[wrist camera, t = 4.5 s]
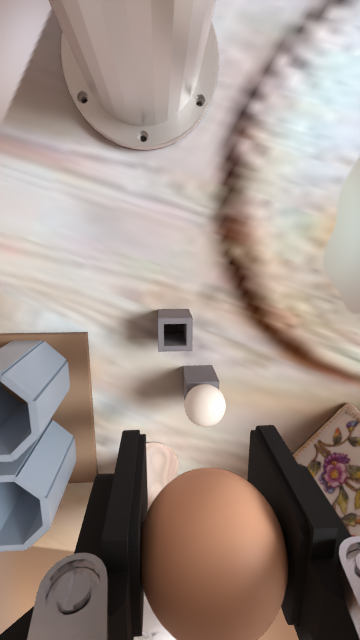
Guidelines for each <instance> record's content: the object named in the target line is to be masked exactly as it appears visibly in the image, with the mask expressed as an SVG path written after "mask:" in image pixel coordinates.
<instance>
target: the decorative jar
mask: <svg viewBox="0 0 360 640" xmlns="http://www.w3.org/2000/svg"><path fill="white" fill-rule="evenodd" d="M293 457H294V458H295V460H296V461H297V463H298V465H304V466H306V467H307V469H308V470H309V471H310V473H311V474H312V476H313V477H314V479H315V480H316V482H317V484H318V485H319V487H320V488H321V490H322V491H323V493H324V494H325V496H326V497H327V499H328V500H329V502H330V503H331V505H332V506H333V508H334V509H335V511H336V513H337V514H338V516H339V517H340V519H341V520H342V522H343V523H344V525H345V526H346V528H347V529H348V531H349V532H350V534H351V535H352V537H357V536H360V411H359V410H358V409H357V408H356V407H354V406H353V405H352V404H350V403H347V404H345V405H344V406H343V407H342V408H340V409H339V410H338V411H337V412H336V414H335V415H334V416H332V417H331V418H330V419H329V420H328V421H327V422H326V423H325V424H324V425H323V426H322V427H321V428H320V429H319V430H318V431H317V432H316V433H315V434H314V435H313V436H312V437H311V438H310V439H308V440H307V441H306V442H305V443H304V444H303V445H302V446H301V447H300V448H299V449H298V450H297V451H296V452H295V453H294V454H293Z"/></svg>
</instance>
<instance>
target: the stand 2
mask: <svg viewBox="0 0 360 640" xmlns="http://www.w3.org/2000/svg"><path fill="white" fill-rule="evenodd" d="M201 384H208V385H212V386H214V387H216V388H217V389H218V390H219V380H218V378H217V375H216V373H215V371H214V369H213V366H212V365H209V366H183V394H184V400H185V398H186V396H187V394H188V392H189V391H190V390H191V389H192V387H195V386H198V385H201Z"/></svg>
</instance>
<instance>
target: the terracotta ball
mask: <svg viewBox="0 0 360 640" xmlns="http://www.w3.org/2000/svg"><path fill="white" fill-rule="evenodd" d="M287 579H288V555H287V547H286V542H285V538H284V535H283V531H282V528H281V526H280V523H279V521H278V519H277V517H276V515H275V513H274V511H273V509H272V507H271V506H270V504H269V503H268V501H267V500H266V499H265V497H264V496H263V495H262V494H261V493H260V492H259V491H258V490H257V489H256V488H255V487H254V486H253V485H252V484H251V483H249V482H248V481H247V480H245V479H244V478H242V477H240V476H239V475H237V474H234V473H232V472H229V471H226V470H222V469H217V468H200V469H195V470H191V471H188V472H186V473H183V474H181V475H179V476H178V477H176V478H174V479H173V480H172V481H171V482H169V483H168V484H167V485H166V486H165V487H164V488H163V489H162V490H161V491H160V492H159V494H158V495H157V496H156V498H155V499H154V500H153V502H152V504H151V506H150V507H149V510H148V512H147V514H146V516H145V519H144V522H143V526H142V538H141V582H142V586H143V589H144V593H145V596H146V598H147V600H148V603H149V605H150V607H151V609H152V611H153V613H154V614H155V616H156V617H157V619H158V620H159V622H160V623H161V625H162V626H163V627H164V628H165V629H166V630H167V631H168V632H169V633H170V634H171V635H172V636H173V637H174V638H175V639H177V640H258V639H259V638H260V637H261V636H262V635H263V634H264V633H265V632H266V631H267V630H268V628H269V627H270V626H271V624H272V623H273V621H274V620H275V618H276V616H277V614H278V612H279V610H280V607H281V605H282V602H283V599H284V595H285V591H286V586H287Z"/></svg>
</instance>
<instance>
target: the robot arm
mask: <svg viewBox="0 0 360 640" xmlns="http://www.w3.org/2000/svg"><path fill="white" fill-rule="evenodd" d="M49 2H50V4H51V7H52V9H53V11H54V13H55V15H56V18H57V20H58V22H59V24H60V26H61V29H62V36H61V63H62V69H63V75H64V78H65V81H66V84H67V87H68V90H69V93H70V95H71V97H72V99H73V101H74V102H75V104H76V106H77V108H78V109H79V111H80V112H81V114H82V115H83V117H84V118H85V119H86V120H87V121H88V123H89V124H90V125H91V126H92V127H93V128H94V129H95V130H96V131H97V132H99V133H100V134H101V135H103V136H104V137H105V138H107V139H108V140H110V141H112V142H114V143H116V144H118V145H121V146H124V147H128V148H131V149H140V150H151V149H158V148H163V147H165V146H168V145H171V144H174V143H175V142H177V141H179V140H180V139H182V138H183V137H185V136H186V135H187V134H188V133H190V132H191V131H192V130H193V129H194V128H195V127H196V126H197V124H198V123H199V122H200V120H201V119H202V118H203V116H204V115H205V113H206V111H207V109H208V107H209V105H210V103H211V100H212V97H213V94H214V91H215V89H216V84H217V78H218V73H219V49H218V42H217V36H216V33H215V30H214V26H213V23H212V16H213V12H214V7H215V3H216V0H49ZM84 99H86V100H88V101H87V102H86V103H84V104H83V103H82V102H83V100H84ZM198 102H200V103H201V104H202V106H201V107H200V106H197V105H196V103H198ZM142 137H145V138H146V141H145V142H142V141H141V138H142ZM248 482H249V483H251V484H252V485H253V486H254V487H255V488H256V489H257V490H258V491H259V492H260V493H261V494H262V495H263V496H264V497H265V499H266V500H267V501H268V503H269V504H270V506H271V507H272V509H273V511H274V513H275V515H276V517H277V519H278V521H279V523H280V526H281V528H282V531H283V535H284V538H285V542H286V547H287V555H288V579H287V586H286V591H285V595H284V599H283V602H282V605H281V608H282V611H283V614H284V616H285V619H286V621H287V623H288V625H294V627H295V630H296V632H297V635H298V638H299V640H360V536H357V537H352V535H351V534H350V532H349V531H348V529H347V528H346V526H345V525H344V523H343V522H342V520H341V519H340V517H339V516H338V514H337V513H336V511H335V509H334V508H333V506H332V505H331V503H330V502H329V500H328V499H327V497H326V496H325V494H324V493H323V491H322V490H321V488H320V487H319V485H318V484H317V482H316V480H315V479H314V477H313V476H312V474H311V473H310V471H309V470H308V469H307V467H306V466H304V465H298V463H297V461H296V460H295V458H294V457H293V455H292V453H291V452H290V450H289V449H288V447H287V445H286V444H285V442H284V441H283V439H282V437H281V436H280V434H279V433H278V431H277V429H276V428H275V426H274V425H264V426H256V430H252V431H251V434H250V449H249V465H248ZM147 512H148V489H147V455H146V434H140V431H139V430H126V431H123V433H122V438H121V443H120V448H119V453H118V458H117V463H116V468H115V473H114V474H97V475H96V477H95V480H94V484H93V487H92V491H91V494H90V498H89V502H88V505H87V509H86V513H85V516H84V520H83V523H82V527H81V531H80V534H79V538H78V541H77V545H76V549H75V552H74V554H73V555H70V556H67V557H65V558H64V559H62V560H60V561H58V562H57V563H56V564H55V565H54V566H53V567H52V568H51V569H50V570H49V571H48V572H47V573H46V575H45V576H44V578H43V579H42V581H41V583H40V586H39V589H38V592H37V596H36V601H35V605H34V607H32V608H31V609H30V610H29V611H28V612H26V613H25V614H24V615H23V616H22V617H21V618H19V619H18V620H17V621H16V622H15V623H13V624H12V625H11V626H10V627H9V628H8V629H6V630H5V631H4V632H3V633H2V634H1V635H0V640H134V637H140V636H142V629H143V607H144V589H143V586H142V582H141V538H142V526H143V522H144V519H145V516H146V514H147Z"/></svg>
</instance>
